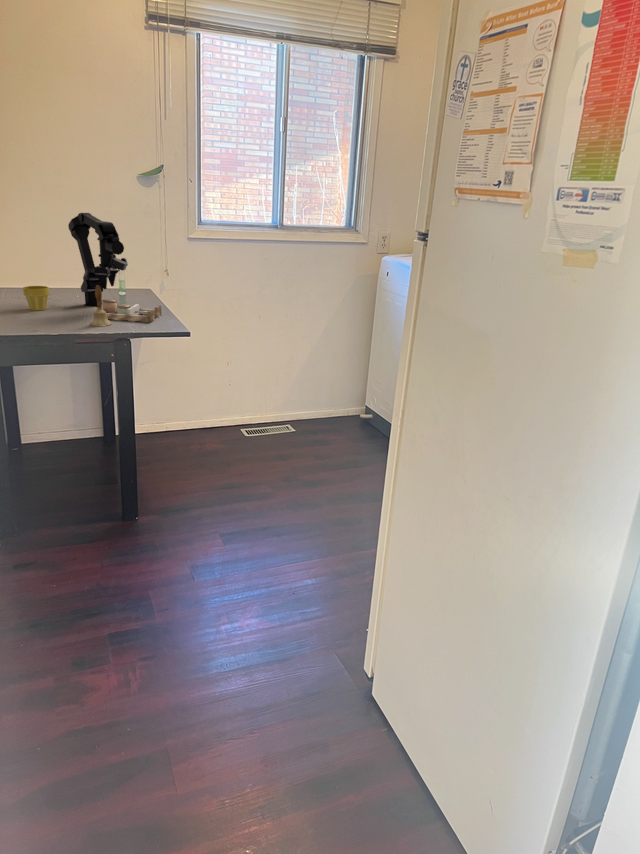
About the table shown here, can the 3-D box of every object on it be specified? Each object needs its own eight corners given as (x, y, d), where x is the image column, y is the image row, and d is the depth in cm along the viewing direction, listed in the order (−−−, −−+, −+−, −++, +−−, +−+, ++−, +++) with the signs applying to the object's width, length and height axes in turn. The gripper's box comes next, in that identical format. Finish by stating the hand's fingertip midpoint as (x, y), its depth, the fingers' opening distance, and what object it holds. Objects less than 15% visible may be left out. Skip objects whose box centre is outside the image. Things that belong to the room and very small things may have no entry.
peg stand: (127, 319, 267) (127, 309, 265) (137, 313, 279) (136, 304, 277) (144, 320, 266) (143, 310, 265) (152, 314, 279) (152, 305, 277)
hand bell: (91, 326, 251) (88, 287, 245) (89, 322, 258) (86, 283, 252) (112, 326, 254) (110, 287, 248) (110, 322, 261) (107, 283, 255)
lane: (103, 319, 265) (102, 308, 264) (116, 312, 280) (115, 302, 279) (151, 322, 265) (150, 311, 263) (161, 315, 280) (161, 305, 279)
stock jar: (115, 317, 270) (114, 306, 268) (120, 315, 276) (119, 303, 274) (129, 318, 270) (128, 307, 268) (133, 316, 276) (133, 304, 274)
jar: (101, 311, 279) (100, 300, 278) (105, 309, 285) (105, 298, 283) (114, 312, 279) (113, 301, 277) (119, 310, 285) (118, 299, 283)
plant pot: (25, 307, 278) (23, 285, 275) (50, 306, 282) (48, 285, 279) (25, 311, 270) (22, 289, 266) (50, 311, 274) (48, 289, 270)
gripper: (117, 255, 264) (119, 292, 270) (131, 251, 281) (133, 285, 287) (91, 253, 264) (94, 290, 270) (107, 249, 281) (109, 284, 287)
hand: (108, 287), depth 278 cm, fingers open, 9 cm apart
